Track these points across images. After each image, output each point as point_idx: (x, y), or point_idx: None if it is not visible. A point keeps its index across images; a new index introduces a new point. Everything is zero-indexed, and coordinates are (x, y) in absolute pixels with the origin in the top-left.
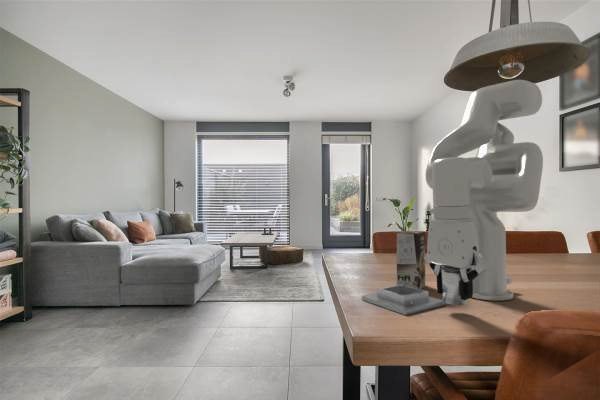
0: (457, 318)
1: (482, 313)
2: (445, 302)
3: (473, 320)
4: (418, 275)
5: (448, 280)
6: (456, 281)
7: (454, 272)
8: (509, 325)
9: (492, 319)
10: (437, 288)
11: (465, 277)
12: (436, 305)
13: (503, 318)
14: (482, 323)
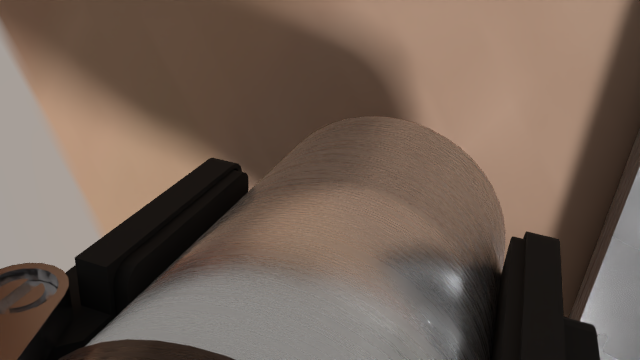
0: (317, 48)
1: None
2: (427, 131)
3: (223, 96)
4: None
5: (271, 252)
6: (171, 270)
7: (70, 353)
8: (67, 163)
9: None
10: (559, 268)
11: (3, 318)
12: (606, 227)
13: None
14: (156, 77)
